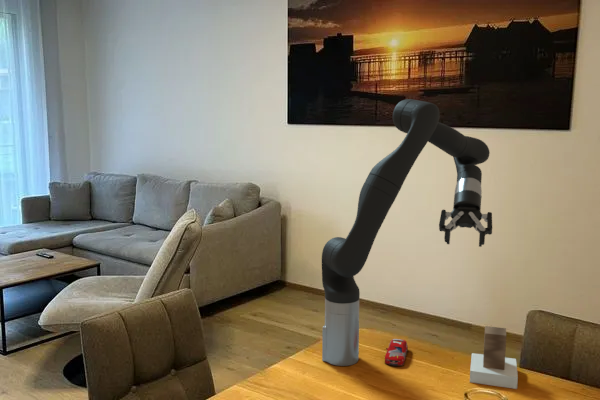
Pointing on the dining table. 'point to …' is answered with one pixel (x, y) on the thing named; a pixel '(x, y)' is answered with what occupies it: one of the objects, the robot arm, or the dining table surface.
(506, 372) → the riser
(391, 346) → the race car
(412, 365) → the dining table surface
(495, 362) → the walnut block
